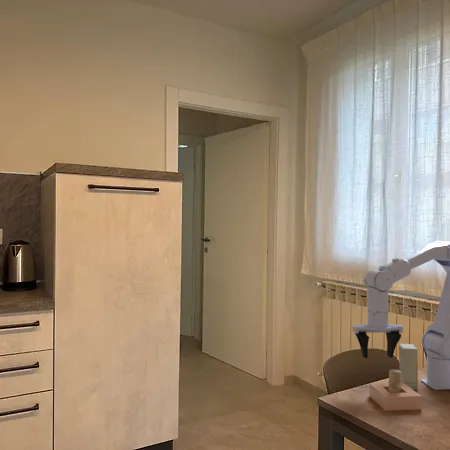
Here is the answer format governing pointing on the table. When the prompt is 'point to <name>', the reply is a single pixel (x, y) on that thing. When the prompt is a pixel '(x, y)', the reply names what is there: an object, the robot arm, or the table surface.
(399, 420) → the table surface
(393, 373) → the beech peg
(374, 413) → the table surface
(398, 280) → the robot arm
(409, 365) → the skincare box
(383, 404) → the socket block
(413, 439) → the table surface
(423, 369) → the table surface
